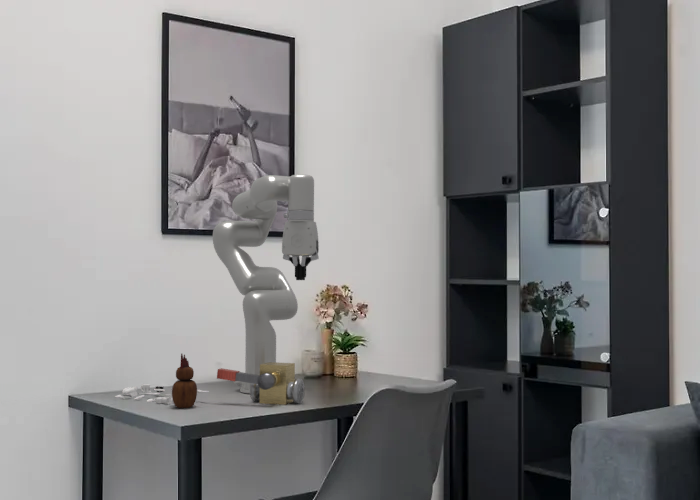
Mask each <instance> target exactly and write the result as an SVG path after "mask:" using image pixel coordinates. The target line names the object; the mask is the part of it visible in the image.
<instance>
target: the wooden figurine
mask: <svg viewBox="0 0 700 500" xmlns="http://www.w3.org/2000/svg"><path fill="white" fill-rule="evenodd" d="M189 365H190V364H189V360H188V359H187V357H186V354H183V353H180V365H179V367H177V369H176V370H175V378H176V379H177V380H178V381H177V380H176V381H175V382H174V383H173V385H172V387H171V389H172V390H171V394H172V395H171V397H172V398H173V402H174V404H173V405H174V406H175V407H176V408H178V409H190V408H192V407H194V405H195V402H196V401H197V396H198V393H197V390H198V386H197V383H196V382H195V380H193V378H194V374H195V373H194V372H195V371H194V369H193V367H191V366H189Z"/></svg>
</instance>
